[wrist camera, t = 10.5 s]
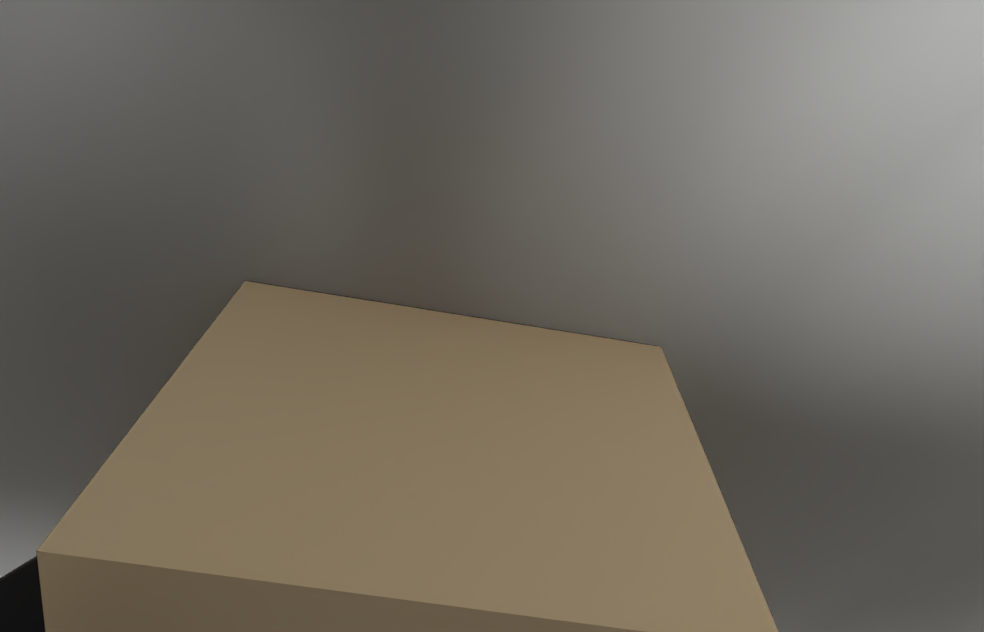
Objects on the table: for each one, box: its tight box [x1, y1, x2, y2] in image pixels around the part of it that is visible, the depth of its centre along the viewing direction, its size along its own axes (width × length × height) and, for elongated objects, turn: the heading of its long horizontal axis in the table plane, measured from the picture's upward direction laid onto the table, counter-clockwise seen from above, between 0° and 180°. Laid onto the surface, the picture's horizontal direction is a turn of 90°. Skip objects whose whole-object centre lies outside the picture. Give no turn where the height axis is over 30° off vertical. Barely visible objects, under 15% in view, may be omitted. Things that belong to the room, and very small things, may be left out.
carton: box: [37, 281, 778, 632], centre depth 7 cm, size 4×4×4 cm
